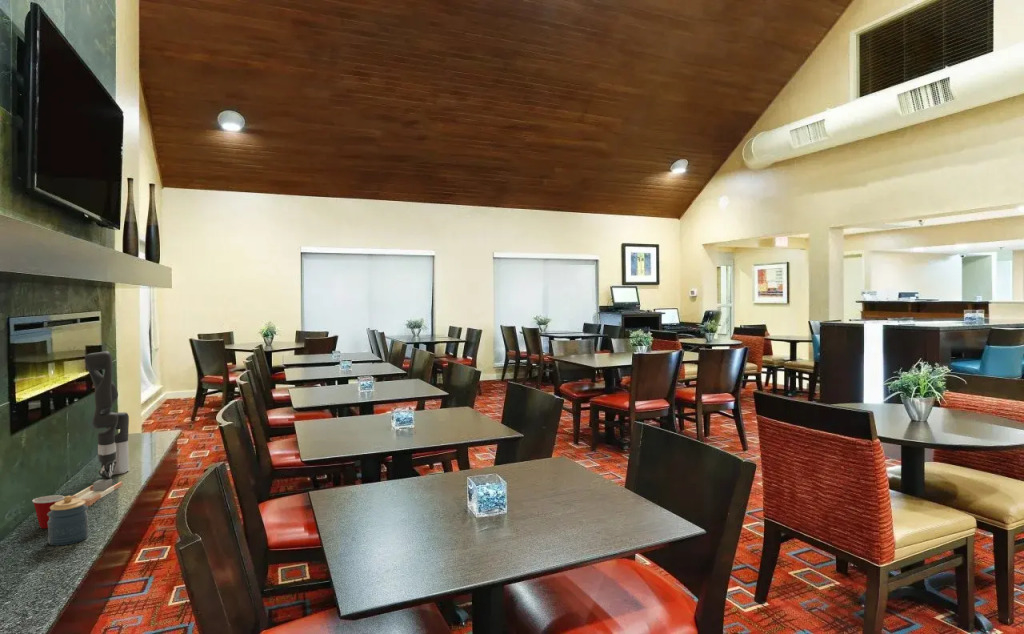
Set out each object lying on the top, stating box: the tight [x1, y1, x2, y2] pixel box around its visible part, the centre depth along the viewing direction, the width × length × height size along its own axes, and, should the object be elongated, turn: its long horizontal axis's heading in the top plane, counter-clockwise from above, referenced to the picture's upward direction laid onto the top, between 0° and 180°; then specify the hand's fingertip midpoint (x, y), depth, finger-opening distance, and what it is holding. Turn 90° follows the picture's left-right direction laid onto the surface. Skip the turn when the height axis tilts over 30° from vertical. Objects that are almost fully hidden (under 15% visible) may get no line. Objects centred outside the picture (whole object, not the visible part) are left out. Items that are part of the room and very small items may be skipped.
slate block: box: [92, 478, 114, 491], centre depth 293 cm, size 6×6×4 cm
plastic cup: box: [31, 494, 66, 529], centre depth 246 cm, size 11×11×12 cm
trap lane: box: [70, 481, 124, 507], centre depth 284 cm, size 29×12×2 cm, turn 8°
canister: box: [47, 495, 90, 546], centre depth 232 cm, size 13×13×18 cm
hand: (108, 483), depth 298 cm, fingers closed
